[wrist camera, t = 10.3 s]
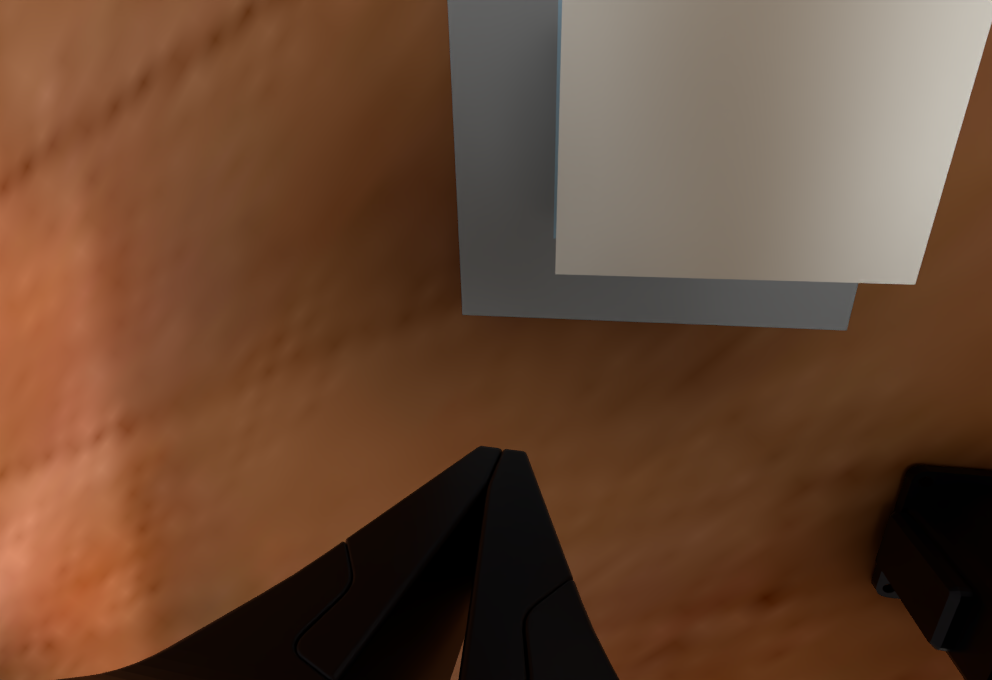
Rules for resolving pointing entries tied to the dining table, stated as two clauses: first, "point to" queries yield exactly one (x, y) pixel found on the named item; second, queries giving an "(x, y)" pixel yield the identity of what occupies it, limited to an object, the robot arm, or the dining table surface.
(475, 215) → the base mat
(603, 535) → the dining table surface
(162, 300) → the dining table surface
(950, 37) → the top brick
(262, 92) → the dining table surface
